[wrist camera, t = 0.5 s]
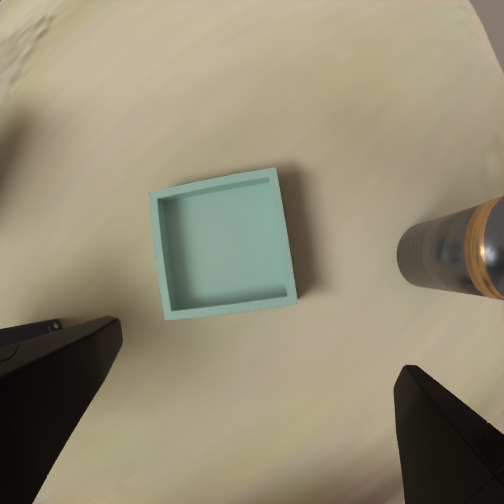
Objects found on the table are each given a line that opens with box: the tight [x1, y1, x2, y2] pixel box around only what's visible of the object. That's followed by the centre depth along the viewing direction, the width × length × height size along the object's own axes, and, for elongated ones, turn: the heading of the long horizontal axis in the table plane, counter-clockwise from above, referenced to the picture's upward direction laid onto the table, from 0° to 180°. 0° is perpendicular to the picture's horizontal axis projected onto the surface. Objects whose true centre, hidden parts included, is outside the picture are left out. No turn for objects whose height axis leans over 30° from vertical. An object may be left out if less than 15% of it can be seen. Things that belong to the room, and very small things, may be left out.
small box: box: [0, 319, 62, 348], centre depth 19 cm, size 11×6×10 cm, turn 113°
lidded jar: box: [397, 196, 504, 300], centre depth 15 cm, size 5×5×12 cm
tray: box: [149, 167, 298, 321], centre depth 21 cm, size 9×9×2 cm
